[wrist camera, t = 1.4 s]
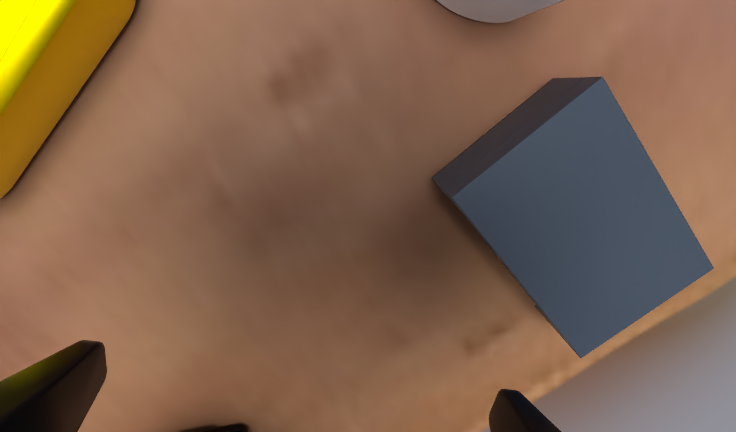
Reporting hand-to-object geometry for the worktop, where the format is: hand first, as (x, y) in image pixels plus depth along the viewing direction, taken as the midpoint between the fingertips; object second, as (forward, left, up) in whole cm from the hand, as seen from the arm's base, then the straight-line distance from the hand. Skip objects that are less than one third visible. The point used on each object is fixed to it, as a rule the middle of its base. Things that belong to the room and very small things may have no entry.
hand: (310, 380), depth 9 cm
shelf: (-3, -12, -13) cm, 18 cm away
